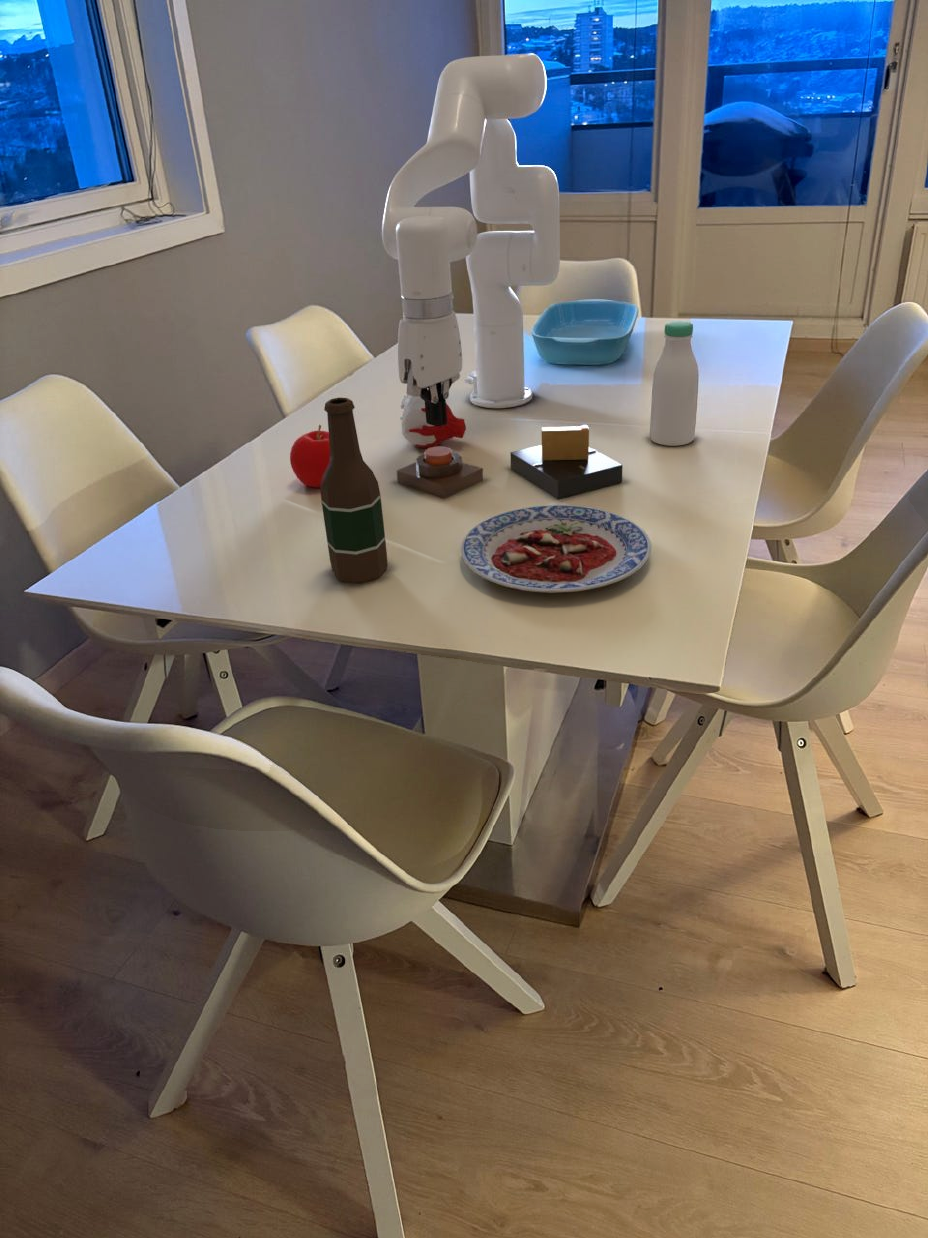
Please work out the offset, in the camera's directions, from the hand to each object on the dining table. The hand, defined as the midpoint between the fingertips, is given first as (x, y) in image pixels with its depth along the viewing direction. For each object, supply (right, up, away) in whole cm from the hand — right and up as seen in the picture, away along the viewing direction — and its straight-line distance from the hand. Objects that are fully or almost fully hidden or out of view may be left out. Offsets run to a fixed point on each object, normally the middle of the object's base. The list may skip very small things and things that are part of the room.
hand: (436, 423), depth 150 cm
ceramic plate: (+17, -23, -21) cm, 35 cm away
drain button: (0, -6, +3) cm, 6 cm away
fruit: (-19, -9, +7) cm, 22 cm away
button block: (0, -9, +5) cm, 10 cm away
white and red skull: (-2, +1, +20) cm, 21 cm away
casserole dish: (+33, +31, +68) cm, 82 cm away
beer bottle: (-10, -25, -21) cm, 34 cm away
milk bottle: (+41, 0, +16) cm, 44 cm away
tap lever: (+21, -5, +2) cm, 21 cm away
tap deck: (+21, -8, +4) cm, 23 cm away
